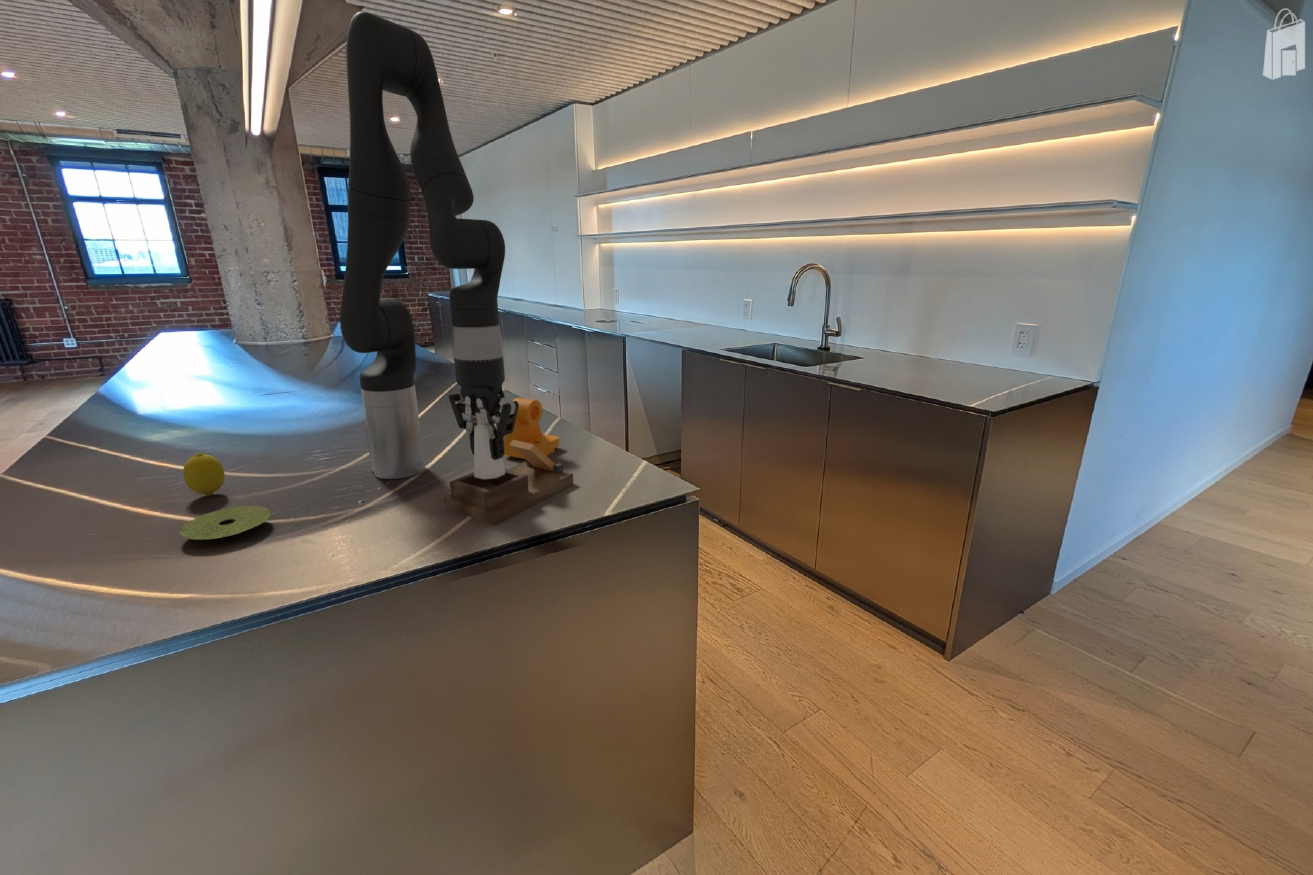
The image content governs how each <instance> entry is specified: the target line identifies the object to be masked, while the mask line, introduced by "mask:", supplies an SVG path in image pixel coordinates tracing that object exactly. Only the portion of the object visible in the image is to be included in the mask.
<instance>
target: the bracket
mask: <svg viewBox="0 0 1313 875" xmlns="http://www.w3.org/2000/svg"><path fill="white" fill-rule="evenodd" d="M513 401H517V402H518V404H519V407H518V411H517V416H516V420H515V425H514V429H513V432H512V433H511V434H508V435H505V436H504V438H503V439H504V451H505V452H504V455H503V456H508V457H514V458H519V459H524V460H526V459H525V458H524V457H523V456H522V455H520V454H519V453H518V452H517V451H516V450H514V449H513V448H512V447H511V446H510V443H511V442H512V440H517V441H521V442H525V443H530V444H534V445H535V446H536V447H537V448H538V449H539V450H540V451H541V452H542V453H544V454H545V455H546V456H547V457H548V456H549V455H551V454H553V453H555V452H554V451H555V449H556V448H558V447H559V446H560V437H559V436H556V435H549V434H544V433H542V430H541V427H540V421H541V420H542V416H543V406H542V403H541V401H539V400H538V399H531V398H530V399H529V398H523V397H516V398H513V400H512V401H511V402H513ZM552 452H553V453H552ZM550 453H551V454H550ZM548 454H549V455H548Z"/></svg>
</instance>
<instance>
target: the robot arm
mask: <svg viewBox="0 0 1313 875" xmlns="http://www.w3.org/2000/svg"><path fill="white" fill-rule="evenodd" d="M347 28H348V29H347V34H346V45H345V46H346V47H345V48H346V49H345V50H346V51H345V52H346V53H345V58H346V60H345V61H346V75H347V76H346V77H347V92H348V93H347V94H348V110H349V111H348V112H349V169H348V170H349V171H348V184H347V186H348V187H347V240H346V241H347V242H346V243H347V244H346V260H345V269H344V270H345V271H344V272H345V273H344V281H343V285H342V286H343V288H342V292H341V300H340V302H341V303H340V310H339V326H340V331H341V336H342V338H343V341H344V342H345V344H346V345H347V346H348V348H349V349H350V350H352V351H354V352H356V353H359V354H369V353H375V352H376V357H375V358H374V360H373V361H372V362H371V363H370V365H368V366H367V367H366V368H365V369H363V370H362V371H361V372H360V373H359V377H358V378H359V384H360V390H361V397H362V403H363V409H364V415H365V422H366V424H365V425H364V429H365V435H366V436H365V437H366V442H367V443H366V444H367V449H368V454H369V455H368V456H369V461H370V469H371V471H372V472H373V473H374V477H377V478H379V479H383V480H397V479H405V478H409V477H412V476H416V475H418V474H421V473H422V472H423V471H424V470H425V469H426V466H425V465H426V464H425V458H424V448H423V440H422V434H421V433H422V432H421V424H420V416H419V410H418V400H417V392H416V386H415V375H416V374H415V373H416V370H417V355H416V354H417V353H416V339H415V338H416V337H415V328H414V322H413V318H412V315H411V313H410V311H409V309H408V307H407V306H406V305H405V304H404V303H403V301H401V300H399V299H396V298H392V297H381V291H382V285H383V279H384V276H385V274H386V271H387V270H388V267H389V265H390V264H391V262H392V260H393V259H394V257H395V256H396V254H397V252H398V251H399V249H400V247H401V245H402V244H403V242H404V241H405V240H404V239H405V238H406V235H407V233H408V230H409V224H410V212H411V211H410V210H411V197H412V196H411V194H412V191H411V185H410V182H409V179H408V176H407V173H406V171H405V169H404V167H403V164H402V162H401V160H400V158H399V156H398V153H397V152H396V150H395V148H394V145H393V143H392V141H391V139H390V136H389V134H388V130H387V126H386V123H385V122H386V121H385V116H384V103H383V100H384V99H383V96H384V94H383V91H384V92H387V93H392V94H394V95H398V96H400V97H406V98H407V99H408V101H409V102H410V104H411V105H412V107H413V110H414V112H415V115H416V119H417V120H416V124H415V129H414V132H413V135H412V138H411V144H410V152H409V156H410V163H411V167H412V170H413V173H414V175H415V178H416V182H417V183H418V187H419V189H420V191H421V193H422V196H423V198H424V201H425V202H424V203H425V206H426V213H427V221H428V229H429V230H428V231H429V244H430V249H431V252H432V254H433V256H434V258H435V259H436V260H437V262H438V263H440V264H441V266H444V267H445V268H447V269H451V270H462V269H463V270H467V269H469V270H472V269H473V274H472V277H471V279H470V280H469V281H468V282H467V283H465V284H462V285H461V284H460V285H458V286H454V287H453V288H452V289H451V290H450V292H449V307H450V318H451V326H452V328H451V329H452V330H451V331H452V335H451V342H452V352H453V353H452V354H453V364H454V372H455V382H456V384H457V385H459V386H460V390H459V391H458V392H455V393H454V392H453V393H451V394H449V395H448V400H449V402H450V403H449V404H450V406H451V409H452V411H453V414H454V417H455V419H456V422H457V425H458V428H459V429H460V430H461V429H463V430H465V432H466V433H467V434H468V435H469V445H470V451H471V453H472V455H473V456H474V427H475V425H478V424H477V421H476V415H475V413H481V416H482V420H483V424H484V425H485V426H487V429H488V433H489V437H490V439H489V443H490V453H491V458H492V459H493V460H497V459H500V458H503V457H504V456H505V455H504V452H505V451H504V437H505V435H508V434H511V433H512V432H513V429H514V425H515V420H516V416H517V411H518V407H519V404H518V402H517V401H513V400H512V401H513V402H512V401H511V400H509V399H508V398H506V396H505V393H504V390H503V384H504V382H505V381H506V375H505V363H504V362H505V361H504V350H503V348H504V346H503V337H502V333H501V332H502V331H501V329H500V318H499V317H500V316H499V308H498V306H499V305H498V295H499V291H500V290H499V289H500V285H501V284H500V283H501V280H502V278H501V277H502V274H503V273H502V272H503V267H504V263H505V258H506V242H505V238H504V235H503V233H502V231H501V230H500V228H499V227H498V226H497V225H496V223H495V222H493V221H491V220H487V219H473V218H457V217H458V216H460V215H462V214H465V213H466V212H467V211H468V210H470V209H471V208H472V206H473V203H474V200H475V199H474V198H475V197H474V192H473V189H472V186H471V184H470V182H469V179H468V176H467V174H466V172H465V169H464V166H463V164H462V161H461V160H460V157H459V155H458V152H457V149H456V146H455V143H454V140H453V137H452V134H451V130H450V125H449V120H448V116H447V111H446V107H445V106H446V105H445V102H444V97H443V92H442V89H441V85H440V80H439V76H438V71H437V68H436V63H435V60H434V57H433V54H432V52H431V49H430V47H429V45H428V43H427V41H426V40H425V38H424V37H423V36H421V34H419V33H418V32H416V31H414V30H413V29H410V28H408V27H406V26H405V25H404V26H403V25H400V24H398V23H396V22H393V21H390V20H389V19H386V18H384V17H381V16H379V15H376V14H373V13H372V12H367V11H363V10H362V11H358V12H356V13H355V14H354V15H353V16H352V18H351V20H350V22H349V24H348V27H347ZM463 414H464V416H463ZM492 416H493V418H492V419H490V417H492ZM494 424H496V427H497V430H495V427H494Z"/></svg>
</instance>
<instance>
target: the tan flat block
mask: <svg viewBox="0 0 1313 875" xmlns="http://www.w3.org/2000/svg"><path fill="white" fill-rule="evenodd" d="M510 446H511V447H512V448H513V449H514V450H516V451H517V452H518V453H519V454H520V455H522V456H523V457H524V458H525V459H524V460H526V462H527V461H529V462H530V463H531V464H532V465H533V466H534V467H538V468H542V469H546V470H550V471H554V465H556V464H557V463H556V464H555V462H554V461H552V460H551V459H550V458H549V457H548V455H547V456H546V455H545V454H544V453H542V452H541V451H540V450H539V449H538V448H537V447H536V446H535V445H534V444H530V443H525V442H521V441H517V440H512V442H511V443H510Z"/></svg>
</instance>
